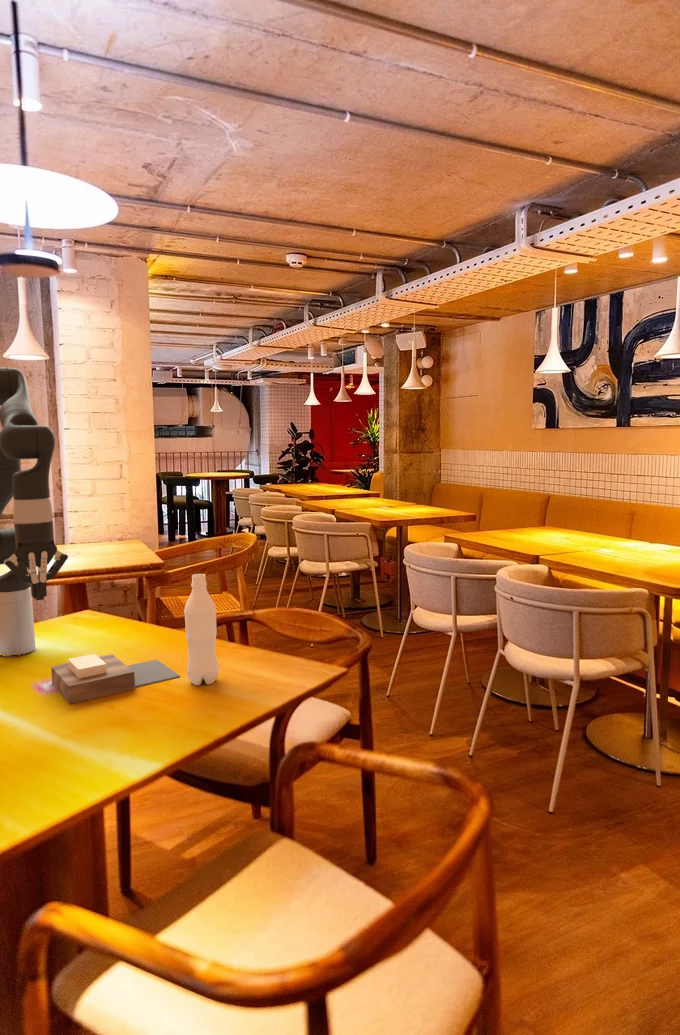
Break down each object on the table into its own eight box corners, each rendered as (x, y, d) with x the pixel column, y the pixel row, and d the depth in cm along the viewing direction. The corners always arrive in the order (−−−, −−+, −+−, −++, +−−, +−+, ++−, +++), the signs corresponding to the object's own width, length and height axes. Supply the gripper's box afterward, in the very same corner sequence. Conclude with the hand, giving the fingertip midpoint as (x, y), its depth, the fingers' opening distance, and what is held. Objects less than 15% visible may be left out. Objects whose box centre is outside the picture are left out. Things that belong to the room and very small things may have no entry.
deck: (52, 683, 153) (51, 666, 153) (113, 669, 161) (112, 654, 161) (69, 704, 140) (68, 686, 140) (135, 688, 148) (134, 671, 148)
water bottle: (225, 678, 154) (221, 573, 151) (206, 689, 147) (202, 579, 145) (200, 674, 157) (195, 571, 154) (180, 684, 150) (175, 577, 148)
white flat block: (68, 667, 152) (67, 659, 151) (95, 662, 155) (94, 653, 155) (79, 678, 144) (78, 669, 144) (106, 672, 148) (106, 663, 148)
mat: (113, 669, 161) (113, 668, 161) (156, 660, 168) (156, 659, 168) (133, 687, 149) (133, 686, 149) (180, 676, 156) (179, 675, 156)
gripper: (61, 516, 148) (67, 592, 149) (-4, 521, 140) (2, 601, 142) (70, 518, 141) (75, 598, 143) (2, 524, 134) (8, 607, 136)
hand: (39, 599), depth 143 cm, fingers closed
